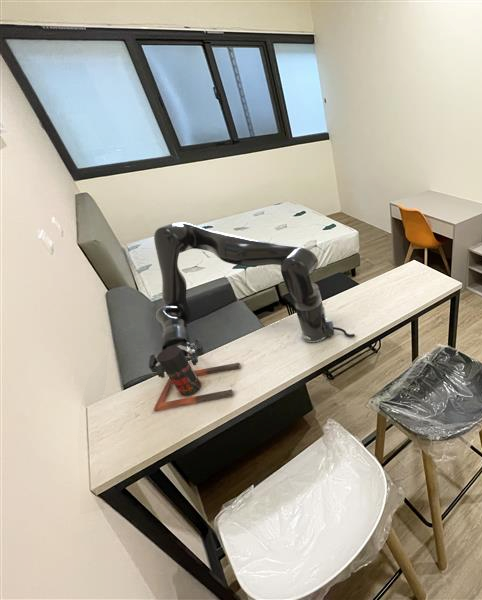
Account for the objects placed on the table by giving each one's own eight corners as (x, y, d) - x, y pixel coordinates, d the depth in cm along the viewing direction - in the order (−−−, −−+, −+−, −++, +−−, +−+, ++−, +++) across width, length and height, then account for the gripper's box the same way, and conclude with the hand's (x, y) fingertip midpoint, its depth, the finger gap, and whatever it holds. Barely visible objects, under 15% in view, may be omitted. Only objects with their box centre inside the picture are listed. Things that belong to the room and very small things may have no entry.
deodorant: (176, 391, 100) (152, 356, 91) (195, 378, 104) (174, 344, 95) (186, 399, 97) (163, 364, 88) (205, 386, 101) (184, 351, 92)
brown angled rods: (240, 365, 108) (239, 362, 107) (232, 396, 97) (230, 393, 96) (171, 378, 104) (169, 375, 104) (155, 411, 94) (152, 408, 93)
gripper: (145, 339, 103) (143, 370, 91) (194, 323, 109) (199, 350, 97) (156, 356, 107) (156, 388, 95) (203, 339, 113) (208, 368, 101)
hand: (178, 369), depth 96 cm, fingers open, 8 cm apart
